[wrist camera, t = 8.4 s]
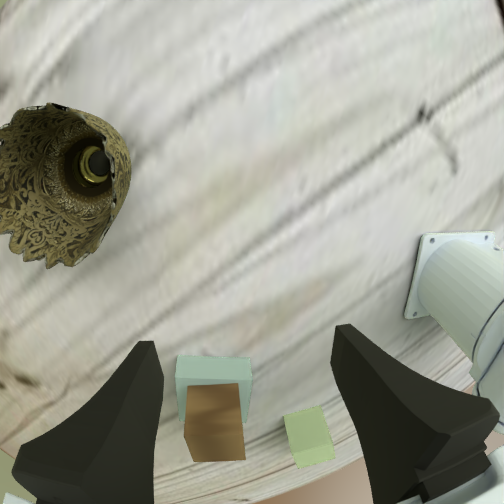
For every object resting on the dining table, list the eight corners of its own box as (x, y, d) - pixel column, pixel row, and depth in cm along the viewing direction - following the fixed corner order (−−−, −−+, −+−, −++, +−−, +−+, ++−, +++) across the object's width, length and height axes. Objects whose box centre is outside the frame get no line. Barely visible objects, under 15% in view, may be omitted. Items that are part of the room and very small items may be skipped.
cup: (116, 237, 20) (70, 299, 13) (38, 180, 18) (-33, 215, 10) (177, 147, 18) (148, 164, 11) (89, 86, 16) (21, 75, 9)
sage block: (320, 404, 29) (332, 442, 25) (324, 423, 31) (335, 458, 26) (283, 415, 29) (291, 454, 25) (290, 433, 31) (298, 468, 26)
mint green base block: (249, 354, 26) (252, 379, 23) (243, 398, 28) (246, 422, 25) (178, 352, 25) (174, 377, 22) (181, 396, 27) (179, 420, 25)
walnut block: (238, 382, 23) (242, 433, 18) (241, 412, 25) (245, 459, 20) (187, 385, 23) (183, 436, 18) (195, 414, 24) (193, 461, 20)
